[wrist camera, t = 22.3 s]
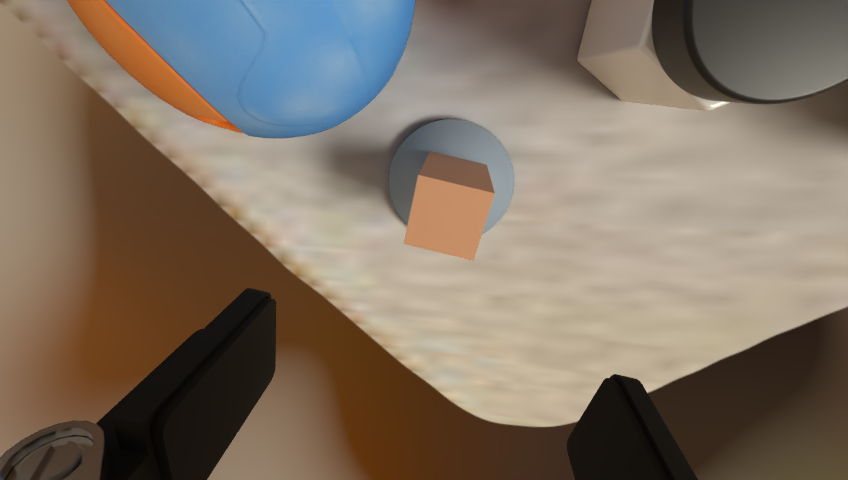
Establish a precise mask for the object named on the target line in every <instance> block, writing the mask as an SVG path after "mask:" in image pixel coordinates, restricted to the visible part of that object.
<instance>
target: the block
mask: <svg viewBox="0 0 848 480" xmlns="http://www.w3.org/2000/svg"><path fill="white" fill-rule="evenodd" d="M494 195H495V192H494V188H493V185H492V181H491V178H490V174H489V171H488V167H487V165H486V164H482V163H478V162H473V161H469V160H465V159H461V158H457V157H453V156H449V155H444V154H440V153H436V152H432V151H430V152H429V154H428V156H427V158H426V160H425V162H424V164H423V166H422V168H421V170H420V172H419V174H418V178H417V183H416V188H415V193H414V197H413V202H412V207H411V211H410V216H409V221H408V226H407V230H406V235H405V240H404V244H407V245H411V246H415V247H419V248H424V249H428V250H432V251H436V252H440V253H444V254H448V255H453V256H457V257H461V258H465V259H469V260H474V257H475V254H476V251H477V248H478V245H479V241H480V238H481V235H482V232H483V229H484V226H485V223H486V220H487V216H488V213H489V210H490V207H491V204H492V201H493V198H494Z"/></svg>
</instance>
